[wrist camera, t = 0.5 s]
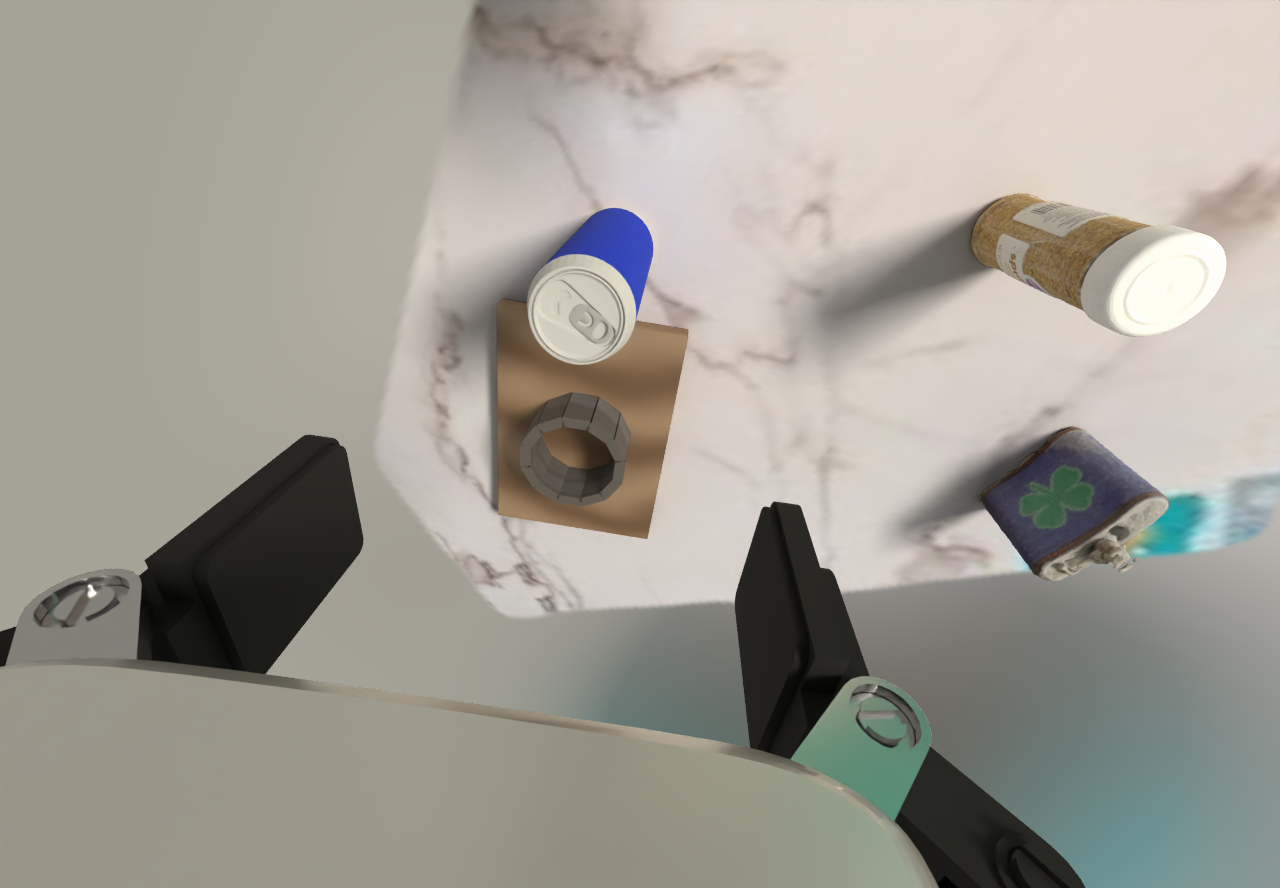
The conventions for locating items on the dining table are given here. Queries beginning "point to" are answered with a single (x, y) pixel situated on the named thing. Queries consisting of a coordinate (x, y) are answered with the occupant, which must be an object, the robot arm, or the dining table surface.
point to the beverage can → (592, 288)
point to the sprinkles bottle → (1102, 262)
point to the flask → (1072, 506)
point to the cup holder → (584, 427)
